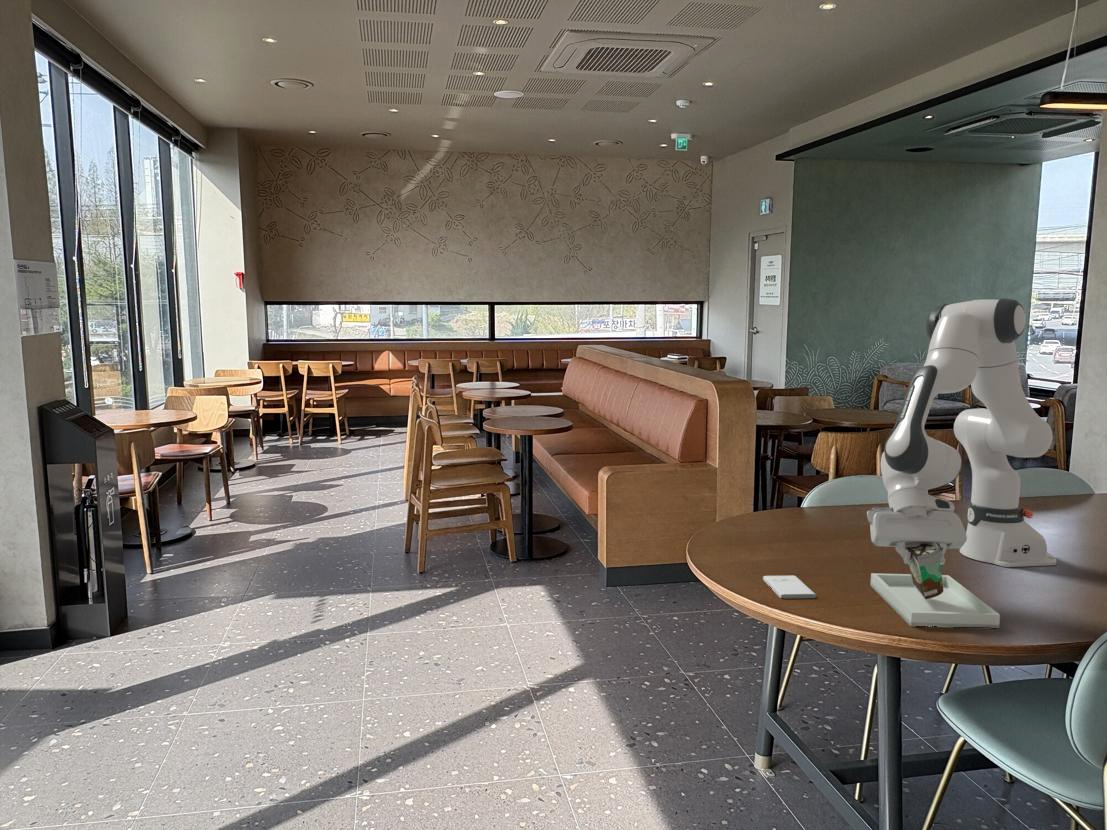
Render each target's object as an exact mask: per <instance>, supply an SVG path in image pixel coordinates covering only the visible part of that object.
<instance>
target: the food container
mask: <svg viewBox="0 0 1107 830" xmlns="http://www.w3.org/2000/svg"><path fill="white" fill-rule="evenodd" d="M904 549H905V550H906V551H907V552H908V554H912V555H913V557H912V558H913V559H914V561H913V563H912V564H908V568H909V571H910V572H909V573H910V574H911V577H912V581H913V585H914V586H915V588H916V589H917V590H918V591H919V592H920V594H921V595H922V596H923V597H924V598H925V599H930V598H933V597H936V596H938V595H940V594H942V593H943V582H942V575H943V574H942V568H941V567H942V565H940V559H941V558H942V556H943V555H942V552H941V550H940V548H939V547H938V546H937V544H935V543H933V542H925V543H923V544H920V545H919V546H917V547H904Z"/></svg>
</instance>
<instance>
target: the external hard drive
mask: <svg viewBox="0 0 1107 830" xmlns="http://www.w3.org/2000/svg"><path fill="white" fill-rule="evenodd" d="M762 580H763V581H764V583H766V585H768V587H769V586H770V587H771V588H772V589H771V588H770V587H769V588H770V589H771V590H772V591H773V592H774V593H775V594H776V595H777V596H778V597H779V598H780V599H781V598H784V599H816V596H817V594H816V593H815V592H814V591H813V590H811V589H810V588H809V587H808V586H807V585H806V584H805V583H804V582H803V581H802V580H801V579H799V578H798V577H797V576H796V575H764V576H763V575H762Z"/></svg>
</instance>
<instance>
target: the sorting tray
mask: <svg viewBox="0 0 1107 830" xmlns="http://www.w3.org/2000/svg"><path fill="white" fill-rule="evenodd" d="M942 582H943V593H942V594H940V595H938V596H936V597H933V598H930V599H925V598H924V597H923V596H922V595H921V594H920V592H919V591H918V590H917V589H916V588H915V586H914V585H913V581H912V577H911V573H910V574H909V573H907V574H906V573H905V574H904V573H874V572H872V573H870V587H871V588H872V589H873V590H874V591H875V592H876V593H877V594H878V595H879V596H880V597H881V598H882V599H883V600H884V601H885V602H886V603H887V604H888V605H889V606H890V607H891V608H892V609H893V610H894V611H895V612H896V613H897V614H898V615H899V616H900V617H901V618H902V619H903V620H904V621H905V622H906V623H907V624H908V625H909V626H910V627H916V626H926V627H925V628H935V627H934V626H937V627H936V628H953V627H990V628H989V629H991V628H999V629H1000V623H1001V622H1000V620H1001V614H1000V613H998V612H997V611H996V610H995V609H993V608H992V607H991V606H990V605H988V604H987V603H986V602H984V601H982V600H981V599H980V598H979V597H977V596H976V595H975V594H974V593H972V591H970V590H969V589H967V588H966V587H964V586H963V585H962V584H961V583H959V582H958V581H957V580H955V579H954V578H952V576H950V575H948V574H947V575H946V574H942ZM927 626H928V627H927ZM932 626H933V627H932ZM950 626H951V627H950Z"/></svg>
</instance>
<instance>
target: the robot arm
mask: <svg viewBox="0 0 1107 830" xmlns="http://www.w3.org/2000/svg"><path fill="white" fill-rule="evenodd" d="M1026 320H1027V319H1026V313H1025V309H1024V306H1023V305H1022V304H1021V303H1020V302H1019V301H1018V300H1016V299H1012V298H1003V297H1002V298H1000V299H992V298H991V299H989V298H987V299H973V300H967V301H962V302H955V303H951V304H949V303H945V304H941V305H937V306H935V307H934V308H932V309H931V311H930V312H929V313H928V314H927V317H926V321H925V329H926V333H927V334H926V335H927V337H928V339H929V340H930V342H929V345H928V350H927V355H926V360H925V361H924V364H923V365H922V366H921V367H919V368H918V369H917V370H916V371H915V372H914V374H913V376H912V377H911V379H910V381H909V384H908V387H907V390H906V391H905V395H904V398H903V401H902V404H901V407H900V409H899V413H898V415H897V419H896V422H895V424H894V427H893V428H892V430H891V432H890V433H889V436H888V437H887V439H886V441H885V444H884V449H883V452H882V454H881V457H880V471H881V472H880V473H881V477H882V481H883V482H882V483H883V486H884V488H885V489H886V491H887V501H888V506H889V507H874V506H873V507H872V508H871V509H868V510H867V512H866V518H867V522H868V523H869V526H870V528H869V529H870V530H869V531H870V539H871V543H873V545H874V546H875V547H887V548H888V547H889V548H890V547H893V548H895V551H896V552H897V553H898V555H900V557H902V559H903V564H905V565H909V564H912V563H913V561H914V559H913V558H912V557H913V555H912V554H908V552H907V551H906V550H905V548H904V547H917V546H919V545H920V544H923V543H925V542H933V543H935V544H937V546H938V547H939V548H940V550H941V552H942V555H943V556H942V558H941V559H940V565H941V566H944V565H945V563H946V559H945V554H946V551H947V549H953V550H954V549H957V550H959V553H960V554H961V555H963V556H964V557H967V558H970V559H972V560H975V561H979V562H984V563H989V564H994V565H997V566H1000V567H1004V568H1017V567H1019V568H1020V567H1041V566H1042V567H1043V566H1044V567H1045V566H1056V565H1057V559H1056V558H1055V556H1054V555H1051V554H1050V553H1049V552H1048V546H1047V541H1046V539H1045V537H1044V535H1042V534H1041V533H1040V532H1039V531H1037V530H1036V529H1035V528H1034V527H1032V525H1030V524H1029V523H1028V522H1027V521H1025V518H1027V519H1032V518H1033V517H1034V512H1033V511H1031V510H1029V509H1028V508H1027V509H1025V508H1023V507H1021V506H1019V505H1020V503H1019V502H1020V492H1021V483H1022V482H1021V477H1020V475H1019V473H1018V472H1017V471H1016V470H1015V469H1014V468H1013V467H1012V466H1011V464H1010V462H1009V461H1008V457H1007V456H1010V457H1014V458H1040V457H1042V456H1043V455H1044V454H1046V453H1047V452H1048V451H1049V449H1050V448H1051V446H1052V444H1053V439H1054V438H1053V437H1054V435H1053V430H1052V427H1051V425H1050V424H1049V423H1048V422H1047V421H1045V420H1044V419H1043V418H1042V417H1041V416H1039V415H1038V413H1036V411H1035V410H1034V407H1032V406H1031V404H1030V402H1029V400H1028V399H1027V396H1026V395H1025V392H1024V390H1023V387H1022V386H1023V385H1022V382H1021V377H1020V376H1021V375H1020V369H1019V362H1018V360H1019V359H1018V353H1017V346H1016V343H1015V340H1018V339H1019V338H1020V337H1021V336H1022V335H1023V333H1024V330H1025V327H1026V322H1027V321H1026ZM969 386H970V388H971V392H972V393H973V395H974V396H975V398H977V399H978V401H980V402H981V403H983V405H984V406H985V407H986V408H982V407H979V408H970V409H964V410H963V411H961V412H959V414H958V415H957V416H956V418H955V421H954V423H953V433H954V436H955V438H956V439H957V441H959V443H960V444H961V445H962V446H963V448H964V449H965V452H966V455H967V457H968V459H969V462H970V463H969V464H970V467H971V468H970V469H971V476H972V478H971V495H970V497H971V498H970V501H968V508H967V527H966V529H965V527H964V524H963V523H962V520H961V517H959V515H958V514H956V513H955V512H954V510H955V509H956V507H955V505H954V503H953V502H952V501H949V500H945V499H942V498H938V497H936V496H933V495H931V494H929V492H928V491H929V490H934V489H938V488H941V487H944V486H946V485H948V484H950V483H952V482H954V480H955V481H956V479H957V478H958V477H959V475H960V473H961V471H962V466H963V459H962V456H961V453H960V452H959V450H958V449H956V448H954V447H953V446H950V445H948V444H947V443H944V442H942V441H940V440H938V439H935V438H934V437H931V436H929V435H928V434H927V432H926V430H925V425H926V423H927V422H926V421H927V418H928V416H929V412H930V409H931V407H932V403H933V400H934V399H935V397H936V396H937V395H941V394H944V395H945V394H952V393H958V392H961V391H963V390H965V389H966V388H969Z"/></svg>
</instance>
